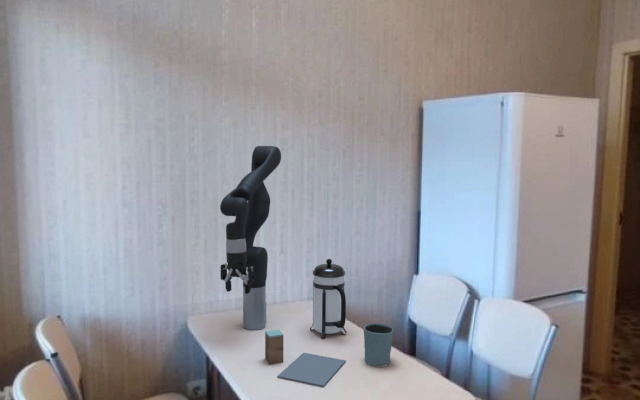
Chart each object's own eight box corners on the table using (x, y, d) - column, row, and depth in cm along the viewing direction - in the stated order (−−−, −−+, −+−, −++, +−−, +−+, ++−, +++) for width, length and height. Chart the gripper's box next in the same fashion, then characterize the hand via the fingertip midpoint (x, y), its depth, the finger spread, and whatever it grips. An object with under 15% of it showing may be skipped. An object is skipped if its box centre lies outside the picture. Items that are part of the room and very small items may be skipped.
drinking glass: (357, 358, 174) (358, 325, 173) (382, 353, 178) (383, 321, 177) (372, 370, 165) (372, 335, 164) (398, 365, 169) (399, 331, 168)
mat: (303, 354, 177) (303, 352, 177) (345, 362, 171) (345, 360, 171) (277, 377, 159) (277, 375, 159) (323, 387, 153) (323, 385, 152)
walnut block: (265, 358, 173) (265, 331, 172) (278, 356, 175) (279, 329, 174) (269, 364, 168) (269, 336, 167) (283, 362, 170) (283, 334, 169)
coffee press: (302, 337, 193) (302, 261, 190) (317, 323, 208) (318, 253, 205) (344, 344, 186) (345, 266, 183) (357, 330, 201) (358, 257, 198)
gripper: (257, 249, 187) (259, 291, 188) (227, 247, 193) (229, 287, 195) (246, 253, 180) (247, 297, 182) (214, 250, 187) (216, 292, 188)
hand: (238, 292), depth 188 cm, fingers open, 8 cm apart
